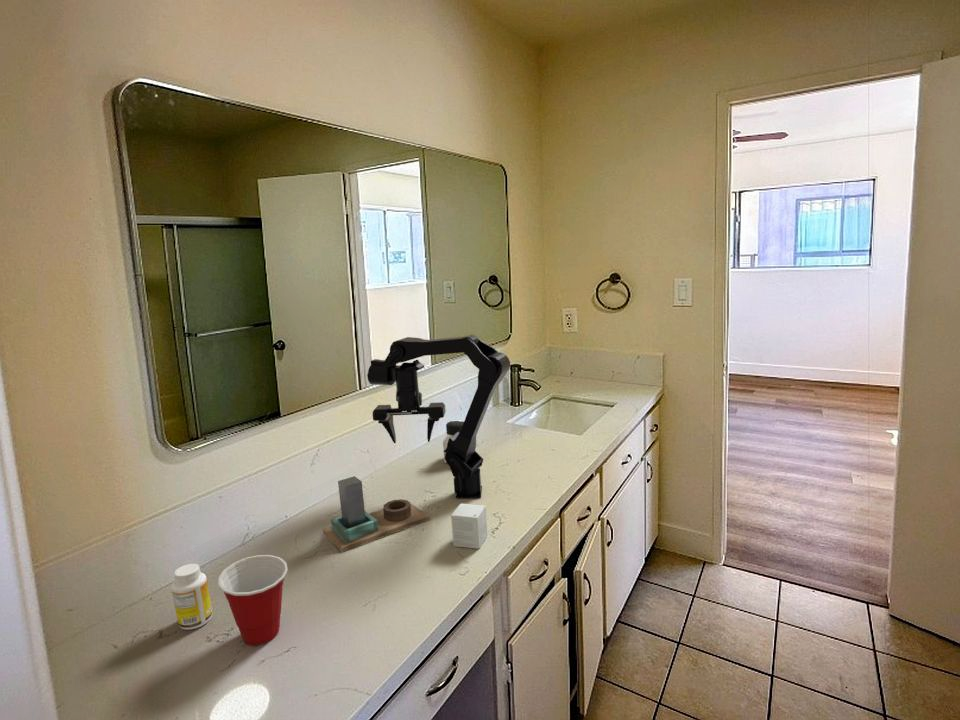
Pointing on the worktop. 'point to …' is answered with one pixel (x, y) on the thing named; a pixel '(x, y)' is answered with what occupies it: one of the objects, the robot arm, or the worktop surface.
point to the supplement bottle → (191, 597)
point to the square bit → (351, 502)
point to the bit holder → (375, 524)
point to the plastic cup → (255, 596)
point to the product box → (469, 526)
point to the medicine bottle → (451, 432)
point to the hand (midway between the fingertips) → (411, 442)
